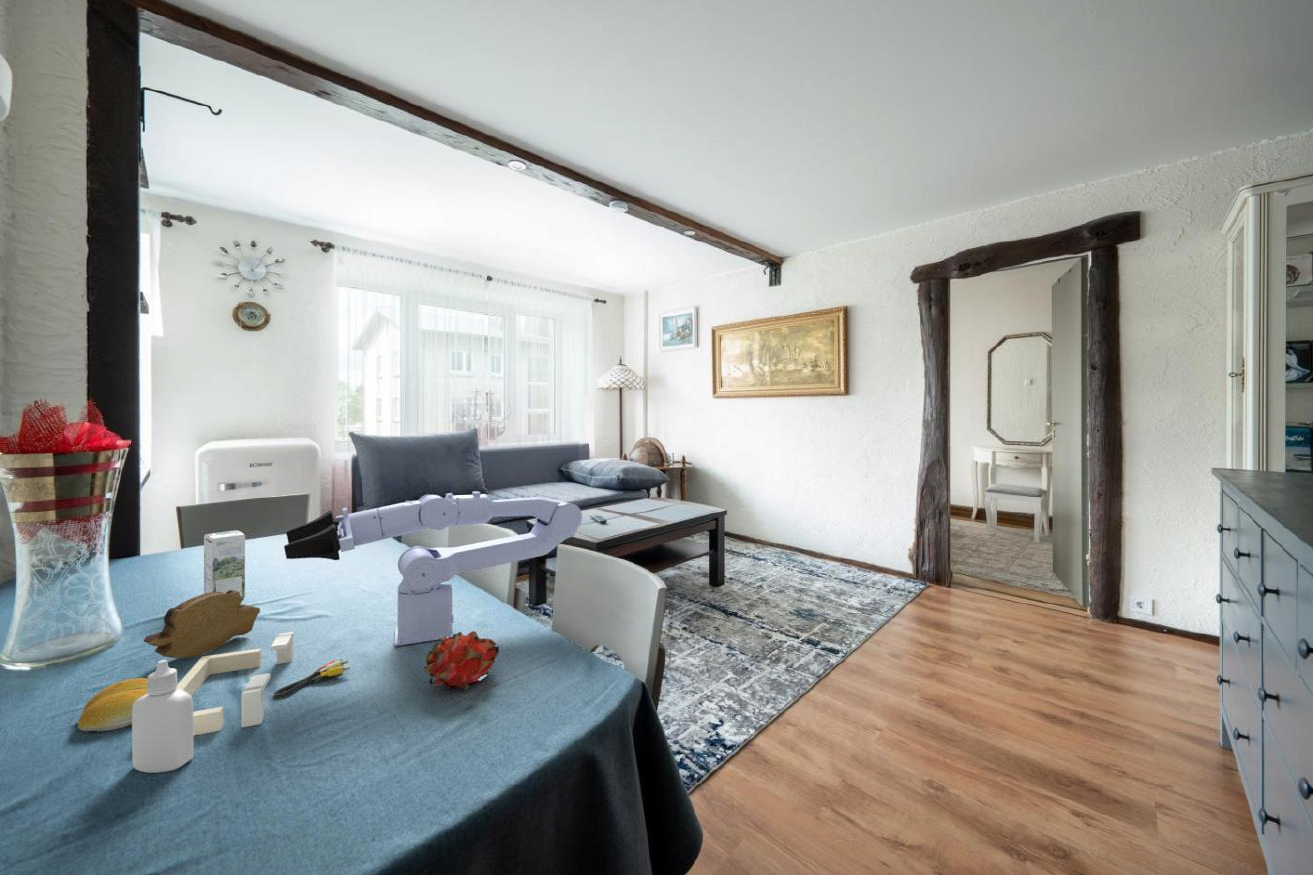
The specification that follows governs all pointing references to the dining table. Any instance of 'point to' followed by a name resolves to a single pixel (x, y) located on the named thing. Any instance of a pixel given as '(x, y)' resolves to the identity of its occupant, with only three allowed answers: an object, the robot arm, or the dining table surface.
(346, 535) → the robot arm
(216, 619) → the wooden carving
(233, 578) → the syrup box
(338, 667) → the composite cable
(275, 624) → the dining table surface
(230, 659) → the end holder
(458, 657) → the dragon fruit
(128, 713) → the bread roll
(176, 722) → the eye dropper bottle
